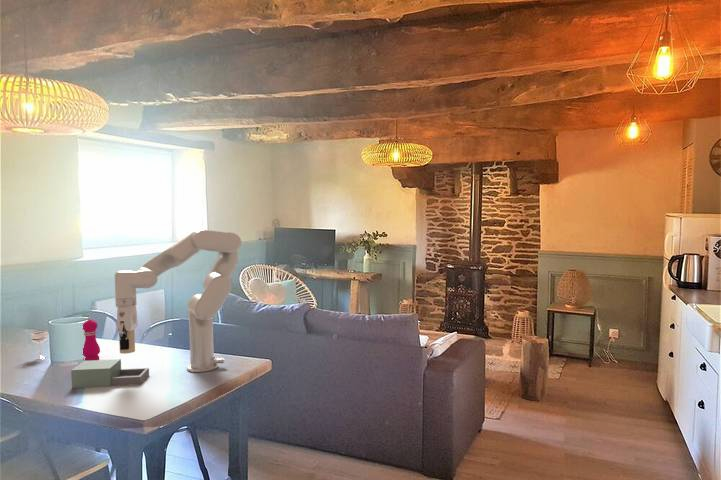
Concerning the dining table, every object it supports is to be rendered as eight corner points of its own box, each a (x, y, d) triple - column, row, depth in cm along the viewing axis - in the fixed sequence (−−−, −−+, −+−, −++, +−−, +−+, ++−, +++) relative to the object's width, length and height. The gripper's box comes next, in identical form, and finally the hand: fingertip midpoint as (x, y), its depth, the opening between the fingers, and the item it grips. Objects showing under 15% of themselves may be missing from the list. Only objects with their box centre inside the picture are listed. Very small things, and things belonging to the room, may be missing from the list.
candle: (138, 350, 203) (137, 326, 202) (126, 354, 198) (125, 329, 197) (128, 349, 205) (127, 324, 205) (116, 352, 200) (115, 327, 200)
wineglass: (51, 356, 236) (50, 331, 236) (36, 360, 231) (34, 334, 230) (44, 354, 240) (43, 329, 239) (28, 358, 234) (27, 332, 234)
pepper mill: (92, 363, 225) (90, 318, 224) (78, 362, 226) (76, 318, 225) (104, 358, 232) (102, 315, 231) (90, 358, 234) (88, 315, 232)
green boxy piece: (149, 374, 209) (148, 357, 209) (140, 384, 197) (139, 367, 197) (85, 377, 206) (84, 360, 206) (72, 388, 194) (71, 370, 194)
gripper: (128, 305, 192) (130, 353, 193) (142, 297, 209) (144, 341, 210) (107, 306, 191) (109, 353, 193) (123, 298, 208) (125, 342, 210)
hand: (127, 346), depth 201 cm, fingers closed on candle, 5 cm apart
